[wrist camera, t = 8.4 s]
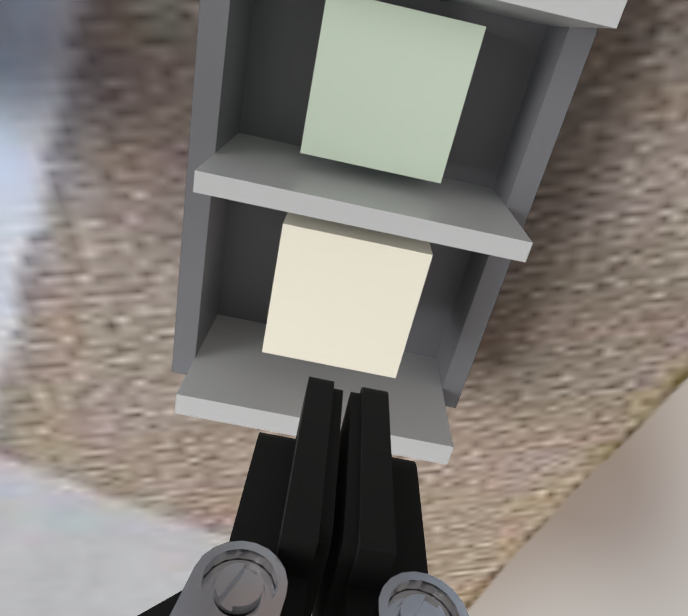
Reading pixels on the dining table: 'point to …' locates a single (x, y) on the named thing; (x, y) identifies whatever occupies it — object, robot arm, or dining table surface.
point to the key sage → (389, 87)
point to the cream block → (344, 294)
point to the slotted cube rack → (359, 204)
